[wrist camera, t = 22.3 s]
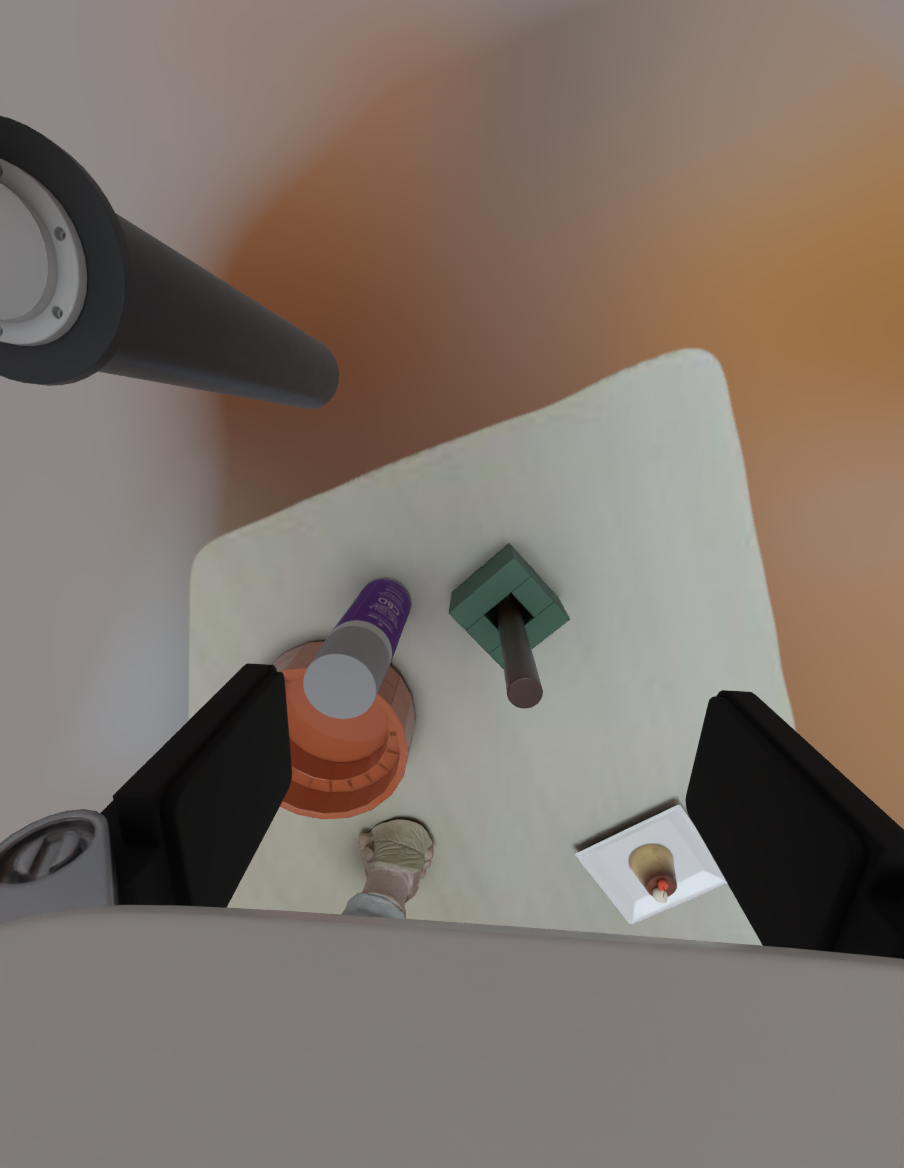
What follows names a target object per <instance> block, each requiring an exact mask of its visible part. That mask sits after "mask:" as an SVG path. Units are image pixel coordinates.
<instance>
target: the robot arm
mask: <svg viewBox="0 0 904 1168" xmlns="http://www.w3.org/2000/svg"><path fill="white" fill-rule="evenodd" d="M86 292H87V268H86V260H85V255H84V251H83V248H82V244H81V241H80V238H79V236H78V234H77V231H76V229H75V227H74V224H73V222H72V221H71V219H70V217H69V216H68V214H67V213H66V211H65V209H64V208H63V206H62V205H61V204H60V203H59V201H58V200H57V199H56V198H55V197H54V195H53V194H52V193H51V192H50V191H49V190H48V189H47V188H46V187H45V186H44V185H42V184H41V183H40V182H39V181H38V180H37V179H36V178H34V177H32V176H31V175H29V174H28V173H26V172H25V171H23V170H21V169H20V168H18V167H16V166H14V165H12V164H10V163H8V162H6V161H4V160H3V159H0V341H1V342H5V343H9V344H14V345H19V346H38V345H44V344H48V343H50V342H52V341H55V340H57V339H59V338H60V337H61V336H63V335H64V334H65V333H67V332H68V331H69V330H70V328H71V327H72V326H73V325H74V323H75V322H76V321H77V319H78V317H79V315H80V313H81V310H82V308H83V305H84V301H85V297H86ZM291 780H292V763H291V751H290V738H289V726H288V714H287V702H286V689H285V678H284V674H283V673H282V672H277V669H276V667H275V666H274V665H265V664H246V665H244V666H243V667H242V668H241V669H240V670H239V671H238V672H237V673H236V674H235V675H234V676H233V677H232V678H231V679H230V680H229V681H228V682H227V683H226V684H225V685H224V686H223V687H222V688H221V689H220V690H219V691H218V692H217V693H216V694H215V695H214V696H213V697H212V698H211V699H210V700H209V701H208V702H207V703H206V704H205V705H204V706H203V707H202V708H201V709H200V710H199V711H198V712H197V713H196V714H195V715H194V716H193V717H192V718H191V719H190V720H189V721H188V722H187V723H186V724H185V725H184V726H183V727H182V728H181V729H180V730H179V731H178V732H177V733H176V734H175V735H174V736H173V737H172V738H171V739H170V740H169V741H168V742H167V743H166V744H165V745H164V746H163V747H162V748H161V749H160V750H159V751H158V752H157V753H156V754H155V755H154V756H153V757H152V758H150V759H149V760H148V761H147V762H146V764H145V765H143V766H142V767H141V768H140V769H139V770H138V771H137V772H136V773H135V774H134V775H133V776H132V777H131V778H130V779H129V780H128V781H127V782H126V783H125V784H124V785H123V786H122V787H121V788H120V789H119V790H118V791H117V792H116V793H115V794H114V795H113V801H112V802H111V803H110V804H109V805H108V806H107V807H106V808H105V809H104V810H103V811H102V812H101V813H98V812H97V811H92V810H85V809H81V810H72V811H65V812H61V813H57V814H54V815H50V816H47V817H45V818H42V819H40V820H38V821H36V822H33V823H31V824H29V825H27V826H25V827H24V828H22V829H20V830H18V831H17V832H15V833H13V834H12V835H10V836H9V837H8V838H6V839H5V840H4V841H2V842H1V843H0V1168H904V830H903V829H902V828H901V827H900V826H899V825H898V824H897V823H896V822H895V821H894V820H892V819H891V818H890V817H889V816H888V815H887V814H886V813H885V812H884V811H883V810H882V809H880V808H879V807H878V806H877V805H876V804H875V803H874V802H873V801H872V800H871V799H869V798H868V797H867V796H866V795H865V794H864V793H863V792H862V791H861V790H860V789H858V788H857V787H856V786H855V785H854V784H853V783H852V782H851V781H850V780H849V779H847V778H846V777H845V776H844V775H843V774H842V773H841V772H840V771H839V770H838V769H836V768H835V767H834V766H833V765H832V764H831V763H830V762H829V761H828V760H827V759H825V758H824V757H823V756H822V755H821V754H820V753H819V752H818V751H816V749H814V748H813V747H812V746H811V745H810V744H809V743H808V742H807V741H806V740H805V739H803V738H802V737H801V736H800V735H799V734H798V733H797V732H796V731H795V730H794V729H793V728H791V727H790V726H789V725H788V724H787V723H786V722H785V721H784V720H783V719H782V718H780V717H779V716H778V715H777V714H776V713H775V712H774V711H773V710H772V709H771V708H769V707H768V706H767V705H766V704H765V703H764V702H763V701H762V700H761V699H760V698H758V697H757V696H756V695H755V694H753V693H752V692H742V691H725V690H722V691H720V692H719V693H718V695H717V696H716V697H712V698H711V699H710V700H709V703H708V707H707V711H706V715H705V719H704V723H703V727H702V732H701V736H700V740H699V744H698V748H697V753H696V757H695V761H694V765H693V769H692V774H691V778H690V782H689V786H688V790H687V794H686V808H687V812H688V815H689V817H690V819H691V820H692V822H693V824H694V826H695V827H696V829H697V831H698V833H699V834H700V836H701V838H702V840H703V841H704V843H705V845H706V847H707V848H708V850H709V852H710V854H711V855H712V857H713V859H714V861H715V862H716V864H717V866H718V868H719V869H720V871H721V873H722V875H723V876H724V878H725V880H726V882H727V883H728V885H729V887H730V889H731V890H732V892H733V894H734V896H735V897H736V899H737V901H738V903H739V904H740V906H741V908H742V910H743V912H744V913H745V915H746V917H747V919H748V920H749V922H750V924H751V926H752V927H753V929H754V931H755V933H756V934H757V936H758V938H759V940H760V941H761V943H762V945H763V946H758V945H746V944H733V943H721V942H708V941H696V940H683V939H671V938H658V937H646V936H633V935H620V934H606V933H593V932H580V931H566V930H553V929H539V928H526V927H512V926H498V925H484V924H471V923H457V922H443V921H429V920H414V919H399V918H384V917H369V916H354V915H339V914H324V913H310V912H295V911H280V910H260V909H240V908H226V907H227V906H228V904H229V902H230V900H231V898H232V896H233V894H234V892H235V890H236V889H237V887H238V885H239V883H240V881H241V879H242V877H243V875H244V873H245V871H246V870H247V868H248V866H249V864H250V862H251V860H252V858H253V856H254V854H255V852H256V851H257V849H258V847H259V845H260V843H261V841H262V839H263V837H264V835H265V833H266V832H267V830H268V828H269V826H270V824H271V822H272V820H273V818H274V816H275V815H276V813H277V811H278V809H279V807H280V805H281V803H282V801H283V799H284V797H285V796H286V794H287V792H288V790H289V787H290V784H291Z"/></svg>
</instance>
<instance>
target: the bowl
mask: <svg viewBox="0 0 904 1168" xmlns="http://www.w3.org/2000/svg"><path fill="white" fill-rule="evenodd" d="M324 642H325V641H324ZM324 642H313V643H307V644H304V645H301V646H299V647H297V648H294V649H292V650H290V651H287V652H285V653H283V654H282V655H281V656H280V657H279V658H278V659H277V660H276V661H275V662H274V663H273V664H272V665H274V666H275V667H276V669H277V672H282V673H283V674H284V678H285V689H286V702H287V714H288V726H289V738H290V751H291V763H292V780H291V784H290V787H289V790H288V792H287V794H286V796H285V797H284V799H283V801H282V803H281V805H280V807H282V808H284V809H286V810H288V811H291V812H293V813H295V814H298V815H303V816H308V817H313V818H318V819H337V818H350V817H353V816H356V815H358V814H361V813H364V812H367V811H370V810H372V809H374V808H375V807H376V806H378V805H379V804H380V803H381V802H383V801H384V800H385V799H387V798H388V797H389V796H391V795H392V793H393V792H394V790H395V789H396V787H397V786H398V784H399V783H400V781H401V779H402V778H403V776H404V772H405V768H406V763H407V758H408V753H409V748H410V744H411V739H412V734H413V729H414V724H415V713H414V707H413V700H412V697H411V694H410V693H409V691H408V689H407V687H406V685H405V683H404V682H403V680H402V678H401V676H400V675H399V674H398V673H397V672H396V671H395V670H394V669H393V668H392V667H391V666H390V665H389V667H388V670H387V672H386V674H385V677H384V679H383V681H382V684H381V686H380V688H379V690H378V693H377V695H376V697H375V700H374V702H373V704H372V705H371V707H370V708H369V709H368V710H367V711H366V712H364V713H363V714H361V715H359V716H357V717H354V718H349V719H338V718H333V717H329V716H327V715H325V714H323V713H321V712H320V711H318V710H317V709H316V708H315V707H314V706H313V705H312V704H311V703H310V702H309V700H308V699H307V697H306V694H305V691H304V686H303V679H304V675H305V672H306V670H307V668H308V667H309V665H310V664H311V662H312V661H313V659H314V657H315V656H316V654H317V653H318V651H319V650H320V648H321V647H322V645H323V644H324Z"/></svg>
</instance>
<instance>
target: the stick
mask: <svg viewBox="0 0 904 1168" xmlns="http://www.w3.org/2000/svg"><path fill="white" fill-rule="evenodd" d="M496 613H497V620H498V628H499V636H500V643H501V651H502V658H503V666H504V674H505V681H506V689H507V696H508V699H509V701H510V702H511V703H512V704H513V705H515V706H516V707H519V708H530V707H533V706H535V705H536V704H537V703H538V702H539V701H540V700H541V698H542V694H543V690H542V686H541V683H540V679H539V675H538V672H537V668H536V664H535V661H534V657H533V653H532V650H531V646H530V642H529V639H528V635H527V631H526V628H525V624H524V620H523V617H522V613H521V609H520V606H519V602H518V599H517V598H516V597H515V596H514V595H513V594H512V593H510V594H509V595H507V596H506V597H505V598H504V599H503V600H501V601H500V602H499V603H498V604H497V605H496Z"/></svg>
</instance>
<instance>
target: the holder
mask: <svg viewBox="0 0 904 1168" xmlns="http://www.w3.org/2000/svg"><path fill="white" fill-rule="evenodd" d="M510 593H512V594H513V595H514V596H515V597H516V598H517V599H518V600H519V602H520V603H519V606H520V609H521V613H522V617H523V620H524V624H525V628H526V631H527V635H528V639H529V642H530V646H531V649H533V648H534V647H535V646H536V645H538V644H539V643H540V642H542V641H543V640H544V639H545V638H547V637H548V636H549V635H551V634H552V633H553V632H554V631H556V630H557V629H558V628H560V627H561V626H562V625H563V624H565V623H566V622H567V621H569V620H570V618H569V616H568V615H567V613H566V611H565V609H564V607H563V605H562V603H561V601H560V600H559V598H558V597H557V596H556V595H555V593H554V592H553V591H552V590H551V589H550V588H549V587H548V586H547V585H546V583H545V582H544V581H543V580H542V579H541V578H540V577H539V576H538V575H537V573H536V572H535V571H534V570H533V569H532V568H531V567H530V566H529V565H528V563H527V562H526V561H525V560H524V559H523V558H522V557H521V556H520V555H519V553H518V552H517V551H516V550H515V549H514V548H513V547H512V546H511V545H510V544H508V545H507V546H505V547H504V548H503V549H502V550H501V551H500V552H498V553H497V554H496V555H495V556H494V557H493V558H491V559H490V560H489V561H488V562H487V563H486V564H485V565H483V566H482V567H481V568H480V569H479V570H478V571H476V572H475V573H474V574H473V575H472V576H471V577H469V578H468V579H467V580H466V581H465V582H464V583H463V584H461V585H460V586H459V587H458V588H457V589H456V590H454V591H453V592H452V594H451V601H450V608H449V614H450V615H451V616H452V617H453V618H454V619H455V620H456V621H457V622H458V623H459V624H460V625H461V626H462V627H463V628H464V629H465V630H466V631H467V632H468V633H469V634H470V635H471V636H472V637H473V638H474V639H475V640H476V641H477V642H478V644H479V645H480V646H481V647H482V648H483V649H484V650H485V651H486V652H487V653H488V654H489V655H490V656H491V657H492V658H493V659H494V660H495V661H496V662H497V663H498V664H499V665H500V666H501V667H502V668H503V669H504V666H503V658H502V651H501V643H500V636H499V628H498V620H497V613H496V608H495V607H494V606H495V605H497V604H498V603H499V602H500V601H501V600H503V599H504V598H505V597H506V596H507V595H509V594H510Z"/></svg>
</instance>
